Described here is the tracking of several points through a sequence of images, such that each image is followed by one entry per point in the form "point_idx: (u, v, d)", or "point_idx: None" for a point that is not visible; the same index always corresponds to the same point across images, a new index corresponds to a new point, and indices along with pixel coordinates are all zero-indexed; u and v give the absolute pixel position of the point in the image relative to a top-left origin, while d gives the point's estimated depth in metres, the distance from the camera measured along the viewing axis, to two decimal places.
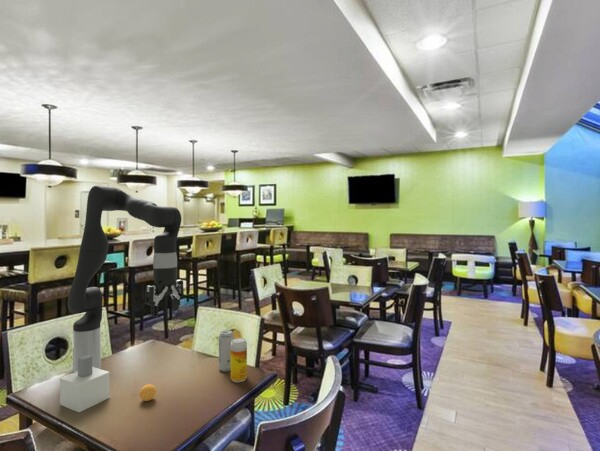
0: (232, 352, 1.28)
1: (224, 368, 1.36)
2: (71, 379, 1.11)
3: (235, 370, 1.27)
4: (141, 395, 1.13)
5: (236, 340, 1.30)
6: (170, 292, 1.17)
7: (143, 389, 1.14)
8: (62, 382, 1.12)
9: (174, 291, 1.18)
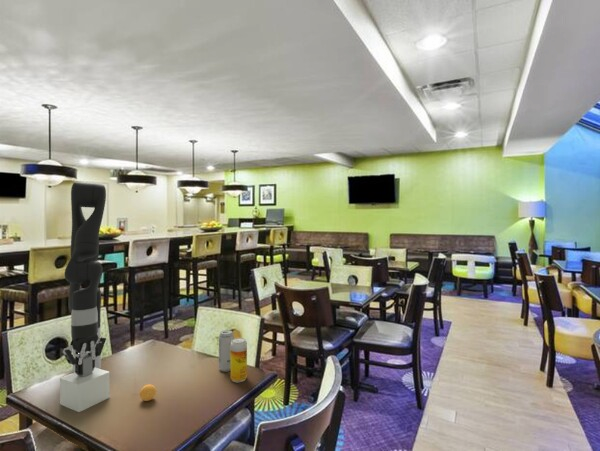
0: (232, 352, 1.28)
1: (224, 368, 1.36)
2: (72, 379, 1.11)
3: (235, 370, 1.27)
4: (141, 395, 1.13)
5: (236, 340, 1.30)
6: (87, 348, 1.14)
7: (143, 389, 1.14)
8: (62, 382, 1.12)
9: (92, 348, 1.15)
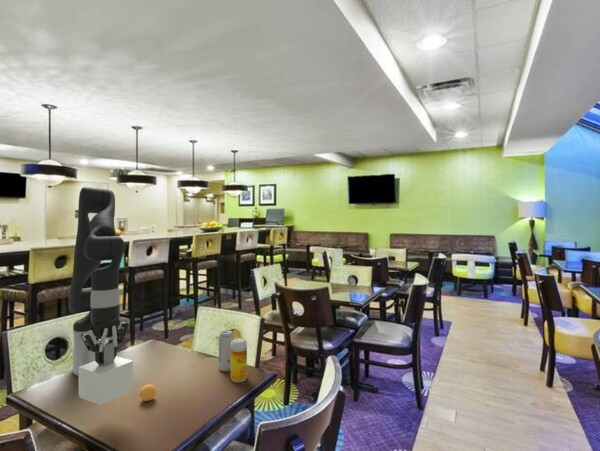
0: (232, 352, 1.28)
1: (224, 368, 1.36)
2: (92, 368, 0.99)
3: (235, 370, 1.27)
4: (141, 395, 1.13)
5: (236, 340, 1.30)
6: (109, 334, 1.02)
7: (143, 389, 1.14)
8: (81, 372, 0.99)
9: (114, 334, 1.02)
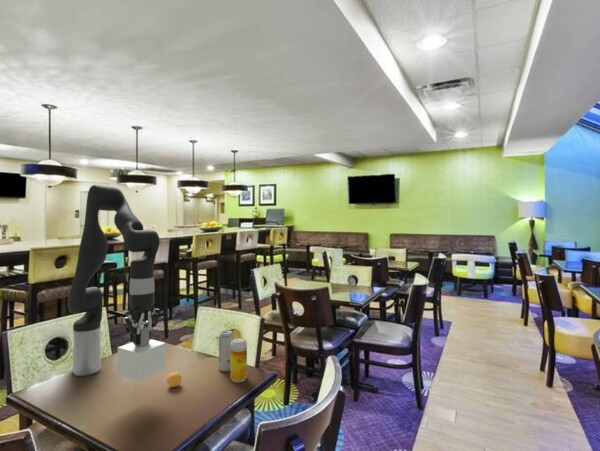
0: (232, 352, 1.28)
1: (224, 368, 1.36)
2: (130, 348, 1.10)
3: (235, 370, 1.27)
4: None
5: (236, 340, 1.30)
6: (145, 318, 1.13)
7: None
8: (120, 351, 1.10)
9: (149, 319, 1.13)
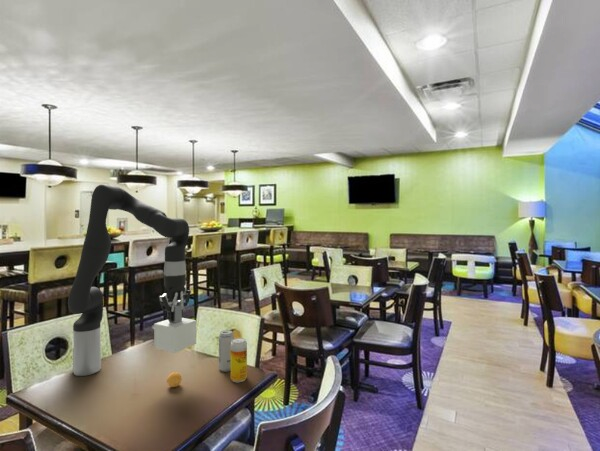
0: (232, 352, 1.28)
1: (224, 368, 1.36)
2: (166, 324, 1.22)
3: (235, 370, 1.27)
4: None
5: (236, 340, 1.30)
6: (178, 297, 1.25)
7: None
8: (157, 327, 1.23)
9: (181, 298, 1.26)
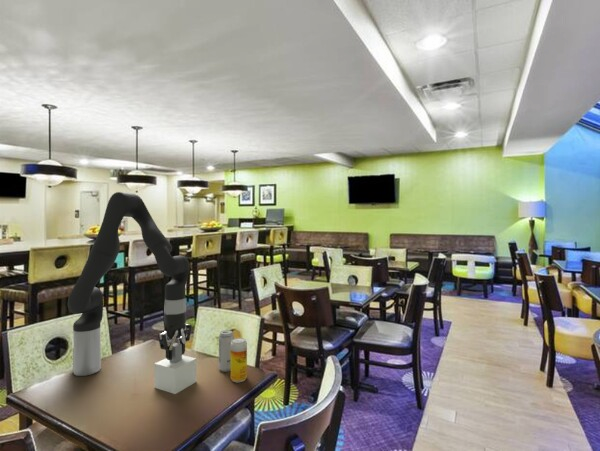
0: (232, 352, 1.28)
1: (224, 368, 1.36)
2: (166, 364, 1.22)
3: (235, 370, 1.27)
4: None
5: (236, 340, 1.30)
6: (179, 335, 1.26)
7: None
8: (157, 367, 1.23)
9: (182, 335, 1.27)
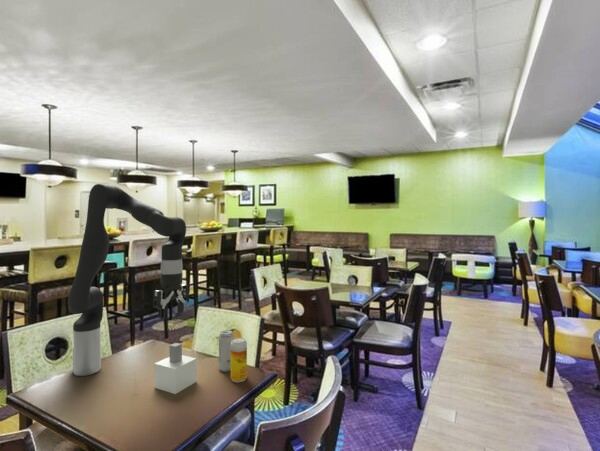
0: (232, 352, 1.28)
1: (224, 368, 1.36)
2: (166, 364, 1.22)
3: (235, 370, 1.27)
4: None
5: (236, 340, 1.30)
6: (176, 296, 1.26)
7: None
8: (157, 367, 1.23)
9: (179, 295, 1.27)
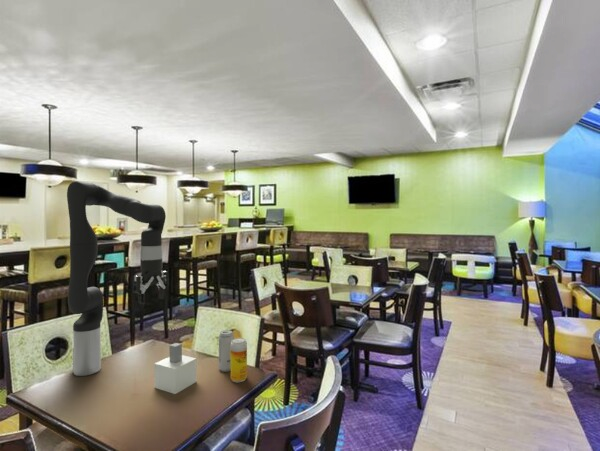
0: (232, 352, 1.28)
1: (224, 368, 1.36)
2: (166, 364, 1.22)
3: (235, 370, 1.27)
4: None
5: (236, 340, 1.30)
6: (156, 282, 1.29)
7: None
8: (157, 367, 1.23)
9: (160, 281, 1.29)
